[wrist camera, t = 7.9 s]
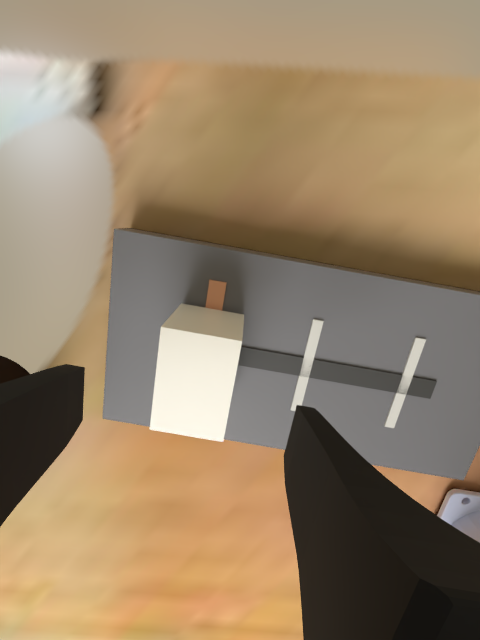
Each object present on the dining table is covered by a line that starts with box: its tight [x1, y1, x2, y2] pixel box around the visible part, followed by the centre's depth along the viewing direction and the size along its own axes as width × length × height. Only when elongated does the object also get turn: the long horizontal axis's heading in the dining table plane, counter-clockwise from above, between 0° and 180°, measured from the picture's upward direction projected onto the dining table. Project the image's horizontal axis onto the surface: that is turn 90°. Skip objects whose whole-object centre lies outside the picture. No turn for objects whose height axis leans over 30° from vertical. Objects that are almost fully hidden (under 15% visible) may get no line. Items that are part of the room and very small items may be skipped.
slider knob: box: [150, 303, 244, 442], centre depth 14 cm, size 3×4×4 cm
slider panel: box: [103, 228, 480, 480], centre depth 17 cm, size 20×10×2 cm, turn 80°
